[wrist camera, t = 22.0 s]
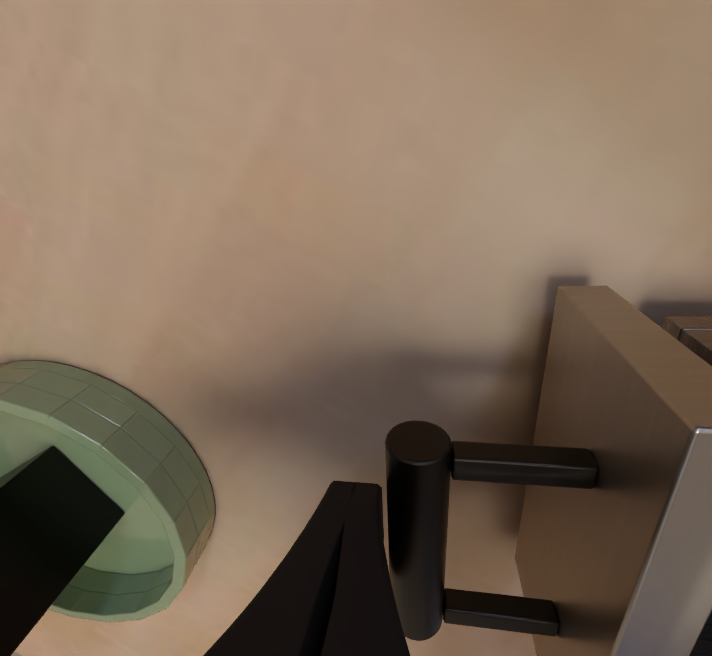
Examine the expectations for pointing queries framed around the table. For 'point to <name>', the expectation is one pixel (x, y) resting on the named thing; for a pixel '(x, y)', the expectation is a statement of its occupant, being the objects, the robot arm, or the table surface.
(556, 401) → the drawer
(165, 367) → the table surface
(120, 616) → the dish
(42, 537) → the iron block
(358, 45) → the table surface
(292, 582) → the robot arm
